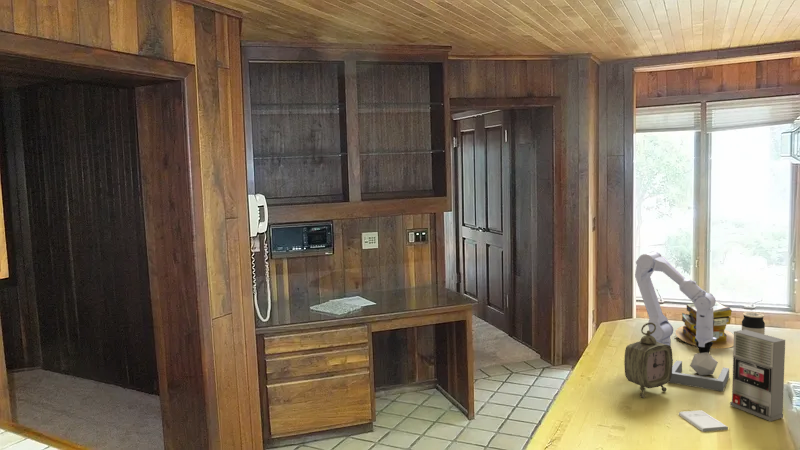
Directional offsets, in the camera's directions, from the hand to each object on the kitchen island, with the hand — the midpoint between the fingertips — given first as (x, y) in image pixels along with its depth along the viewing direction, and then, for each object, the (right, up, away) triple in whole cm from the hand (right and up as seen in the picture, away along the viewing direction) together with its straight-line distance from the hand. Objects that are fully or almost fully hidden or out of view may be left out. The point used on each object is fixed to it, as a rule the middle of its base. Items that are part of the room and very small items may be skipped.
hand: (704, 360), depth 233 cm
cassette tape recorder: (-2, -8, -38) cm, 39 cm away
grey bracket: (-6, -5, -8) cm, 11 cm away
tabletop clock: (-30, -7, -19) cm, 36 cm away
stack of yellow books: (+20, 0, +39) cm, 44 cm away
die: (-1, -5, -3) cm, 6 cm away
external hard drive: (-22, -10, -44) cm, 50 cm away
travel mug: (+26, -2, +14) cm, 30 cm away
